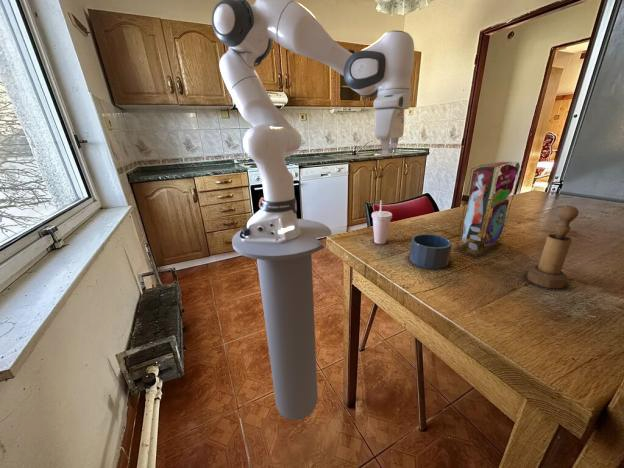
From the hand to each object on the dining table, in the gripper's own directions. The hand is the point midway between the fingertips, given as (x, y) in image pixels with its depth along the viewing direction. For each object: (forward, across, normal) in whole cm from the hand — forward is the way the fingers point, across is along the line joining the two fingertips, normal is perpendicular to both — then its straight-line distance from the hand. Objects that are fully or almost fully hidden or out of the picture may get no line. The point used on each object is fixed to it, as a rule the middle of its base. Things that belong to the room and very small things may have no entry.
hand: (389, 154), depth 76 cm
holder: (+27, +10, +15) cm, 33 cm away
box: (+27, -9, +30) cm, 41 cm away
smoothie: (+28, +3, 0) cm, 28 cm away
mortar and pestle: (+27, +10, +40) cm, 50 cm away
